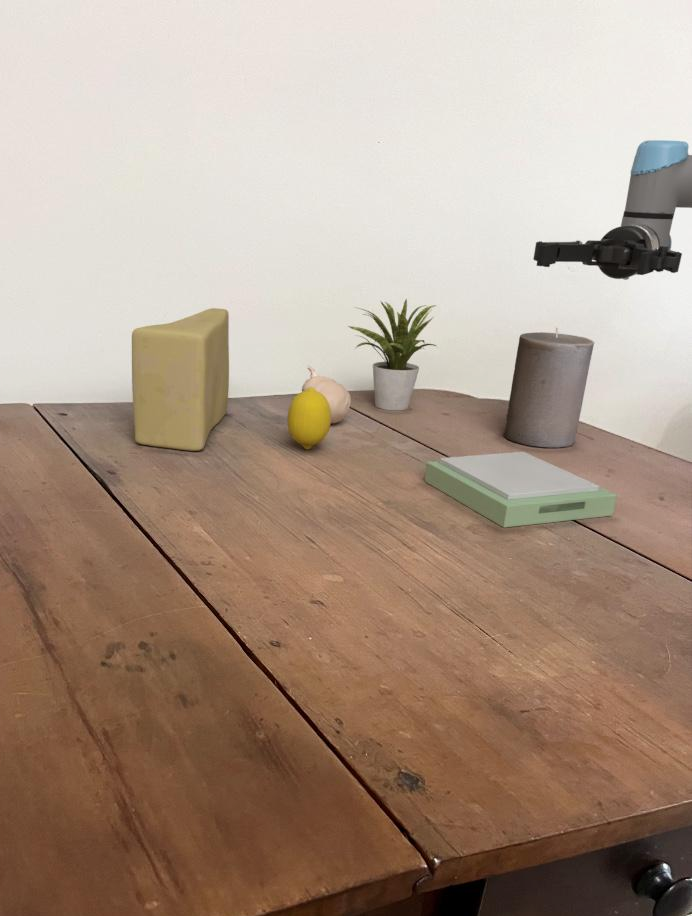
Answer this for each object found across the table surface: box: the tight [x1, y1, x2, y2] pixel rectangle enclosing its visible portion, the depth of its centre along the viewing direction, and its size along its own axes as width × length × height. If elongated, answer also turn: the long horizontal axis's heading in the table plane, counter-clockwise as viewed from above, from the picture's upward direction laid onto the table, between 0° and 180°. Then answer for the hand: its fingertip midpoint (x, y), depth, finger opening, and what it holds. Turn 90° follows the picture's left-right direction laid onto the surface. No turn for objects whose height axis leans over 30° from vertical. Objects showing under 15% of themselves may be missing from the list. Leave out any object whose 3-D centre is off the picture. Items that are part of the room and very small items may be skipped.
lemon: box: [286, 388, 332, 450], centre depth 117 cm, size 6×6×8 cm
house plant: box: [347, 298, 439, 411], centre depth 140 cm, size 14×14×16 cm
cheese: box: [131, 307, 230, 452], centre depth 123 cm, size 22×10×15 cm, turn 162°
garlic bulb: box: [301, 364, 352, 424], centre depth 130 cm, size 7×6×8 cm
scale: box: [424, 451, 618, 528], centre depth 103 cm, size 16×14×3 cm
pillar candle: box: [502, 327, 595, 449], centre depth 125 cm, size 10×10×15 cm
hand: (589, 259), depth 125 cm, fingers open, 13 cm apart
